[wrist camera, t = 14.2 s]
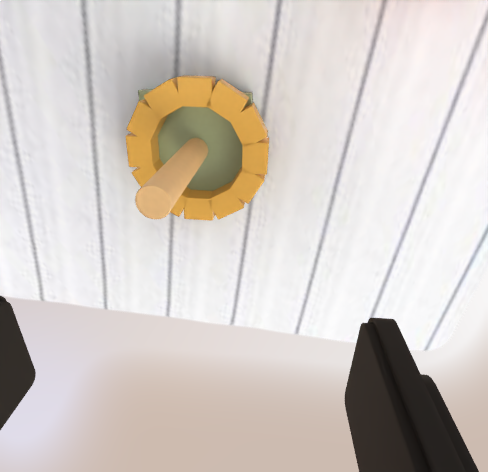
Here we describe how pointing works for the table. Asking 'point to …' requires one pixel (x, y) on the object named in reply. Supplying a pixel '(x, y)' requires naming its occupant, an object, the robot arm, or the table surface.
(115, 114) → the table surface
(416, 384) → the robot arm
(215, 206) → the ring
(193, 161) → the post stand
